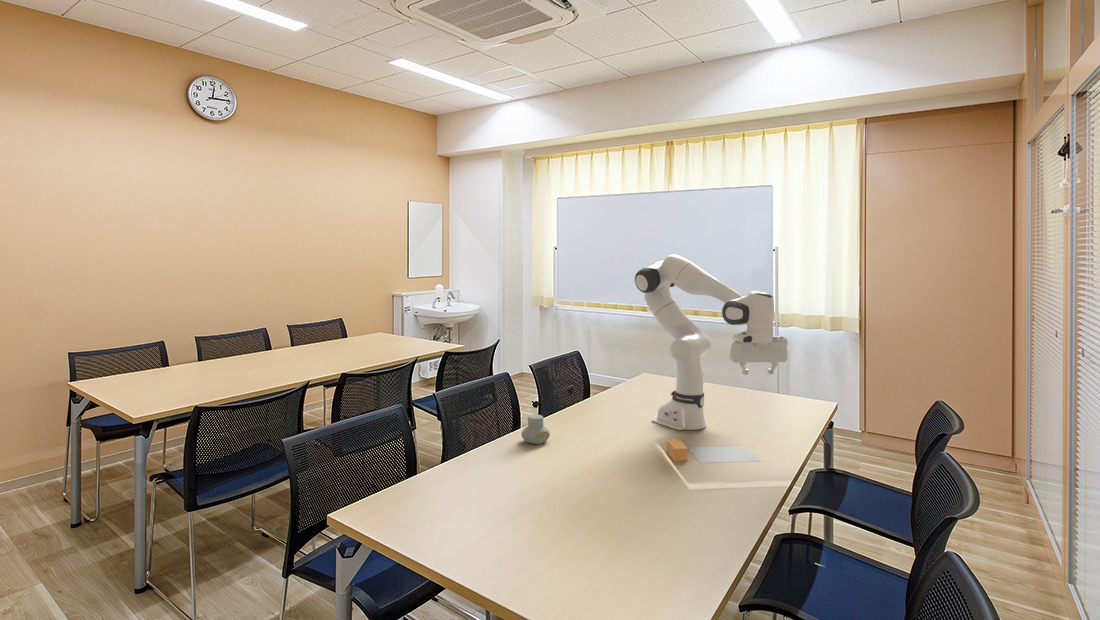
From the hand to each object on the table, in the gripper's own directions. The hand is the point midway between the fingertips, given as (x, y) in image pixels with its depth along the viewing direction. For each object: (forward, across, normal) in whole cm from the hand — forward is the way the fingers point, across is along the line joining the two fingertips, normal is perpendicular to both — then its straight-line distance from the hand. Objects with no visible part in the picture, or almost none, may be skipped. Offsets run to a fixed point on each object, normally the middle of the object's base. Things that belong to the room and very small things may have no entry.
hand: (757, 374), depth 198 cm
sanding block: (+29, +31, +6) cm, 43 cm away
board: (+29, +14, +6) cm, 33 cm away
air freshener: (+29, +80, -15) cm, 87 cm away
